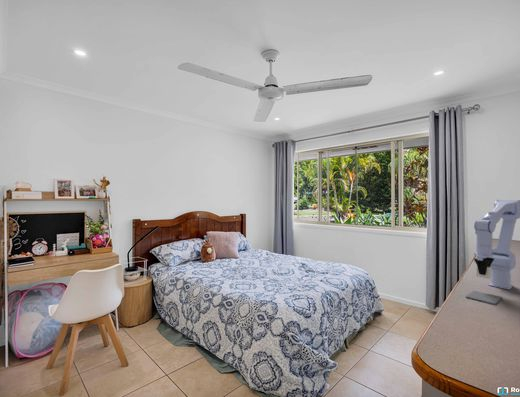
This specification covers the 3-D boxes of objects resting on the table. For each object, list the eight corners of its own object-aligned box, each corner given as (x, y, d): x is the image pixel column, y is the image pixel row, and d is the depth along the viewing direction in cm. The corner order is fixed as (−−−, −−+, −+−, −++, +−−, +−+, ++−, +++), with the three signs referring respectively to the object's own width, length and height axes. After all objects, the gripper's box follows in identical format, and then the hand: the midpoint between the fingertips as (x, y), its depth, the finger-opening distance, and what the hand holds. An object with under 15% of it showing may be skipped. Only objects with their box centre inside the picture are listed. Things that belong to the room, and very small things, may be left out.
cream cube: (479, 274, 131) (479, 265, 131) (491, 276, 128) (491, 267, 128) (476, 276, 128) (476, 266, 128) (488, 278, 125) (488, 268, 125)
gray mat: (474, 291, 127) (474, 290, 127) (502, 298, 119) (502, 296, 119) (465, 297, 120) (465, 296, 120) (494, 304, 112) (494, 303, 112)
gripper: (478, 242, 135) (478, 269, 136) (469, 245, 127) (468, 274, 127) (496, 244, 130) (496, 272, 130) (488, 247, 121) (487, 277, 121)
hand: (483, 273), depth 128 cm, fingers closed on cream cube, 4 cm apart
